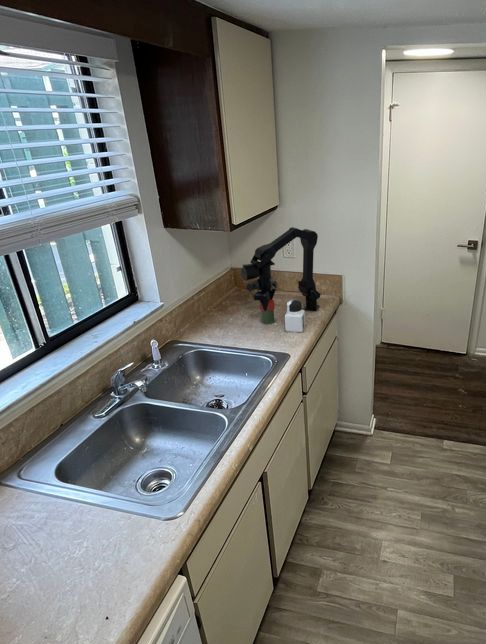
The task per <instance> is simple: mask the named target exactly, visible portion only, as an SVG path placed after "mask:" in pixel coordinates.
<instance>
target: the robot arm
mask: <svg viewBox="0 0 486 644" xmlns="http://www.w3.org/2000/svg"><path fill="white" fill-rule="evenodd" d="M318 235H319V234H318V233H317V231H315V230H312V229H309V228H304V229H300V228H297V227H294V226H292V227H289V229H288V230H286V231H285V232H284V233H282V234H281V235H279V236H278V237H277V238H275V239H274V240H272V241H271V242H269V243H267V244H263V245H261V246H259V247H257V248H256V249H255V250H254V254H253V256H252V258H251V260H250V261H249V263H248V264H247V263H246V264H242V267H241V269H240V276H241V279H243V281H245V282H246V281H249V282H248V283H246V286H245V287H246V288H245V289H246V290H248V292H252V291H255V290H257V291H256V292H255V293H254V294H253V300H254V301H259V303H260V302H261V304H262V307H263V309H264V311H266V310H267V307H268V303H269V300H270V299H271V300H274V297H275V294H276V291H277V288H278V287H279V286H278V283H279V282H277V281H276V280H273V279H274V277H273V276H272V266H275V265H276V263H275V262H273V260H272V259H274V257H275V256H276V254H277V253H278V252H279V251H280V250H281V249H283V248H284V247H286V246H287V245H288V244H290V243H291V242H293V240H295V239H296V238H299V239H300V240H299V241H300V244H301V246H302V249H303V250H302V253H303V254H302V278H301V279H300V280H298V282H297V283H298V287H297V289H298V291H299V292H300V293H301V295H302V296H303V297H305V298H304V300H305V306H304V308H303V310H305V311H310V312H311V311H312V312H316V311H317V310H318V309H319V308H320V305H319V304H318V299H320V298H321V293H320V292H319V291H318V290H317V285H316V282H315V280H314V255H315V254H314V252H315V251H314V250H315V248H316V246H317V244H318V238H319V236H318ZM255 279H256V280H255ZM250 280H252V281H250Z"/></svg>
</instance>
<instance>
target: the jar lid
mask: <svg viewBox="0 0 486 644" xmlns="http://www.w3.org/2000/svg"><path fill="white" fill-rule="evenodd" d="M275 307H276V306H275V301H274V299H272V300H271V299H270V300H269V303H268V307H267V310H266V311H271V310H273V309H274V310H275ZM259 309H260V311H261V310H262V311H264V309H263V307H262V304H261V302H260V301H259Z"/></svg>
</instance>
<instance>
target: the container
mask: <svg viewBox="0 0 486 644" xmlns="http://www.w3.org/2000/svg"><path fill="white" fill-rule="evenodd" d="M305 326H306V310H304V309H303V305H302V302H301V301H300V300H297V299H293V300H292V299H291V300H289V301H287V303H286V313H285V315H284V329H285V330H284V331H285V332H290V333H291V332H292V333H303V331H304V329H305Z"/></svg>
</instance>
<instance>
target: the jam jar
mask: <svg viewBox="0 0 486 644" xmlns="http://www.w3.org/2000/svg"><path fill="white" fill-rule="evenodd" d="M260 311H261V313H260V314H261V322H262V324H263V325H270V324H273V323H275V308H274V309H273V310H271V311H262V310H261V309H260Z"/></svg>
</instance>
